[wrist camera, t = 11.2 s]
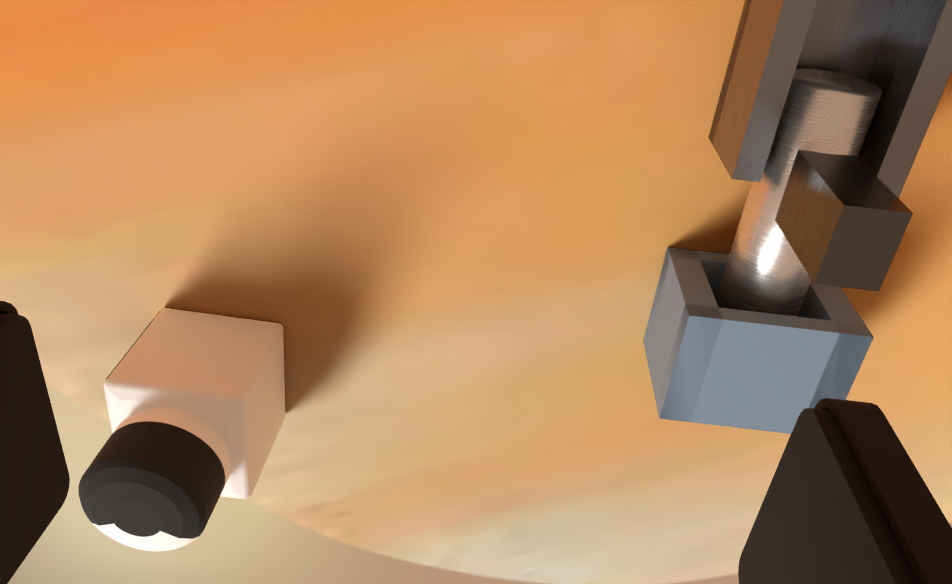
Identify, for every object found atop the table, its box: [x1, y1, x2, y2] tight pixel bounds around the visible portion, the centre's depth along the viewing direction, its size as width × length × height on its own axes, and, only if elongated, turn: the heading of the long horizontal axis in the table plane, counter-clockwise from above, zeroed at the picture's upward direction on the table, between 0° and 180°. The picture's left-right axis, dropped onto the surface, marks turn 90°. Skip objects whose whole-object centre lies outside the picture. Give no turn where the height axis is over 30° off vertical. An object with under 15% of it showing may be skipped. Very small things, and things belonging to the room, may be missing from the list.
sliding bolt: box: [716, 69, 913, 317], centre depth 33 cm, size 14×4×9 cm, turn 175°
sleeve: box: [709, 0, 952, 198], centre depth 31 cm, size 12×7×5 cm, turn 175°
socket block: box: [643, 247, 873, 434], centre depth 38 cm, size 6×8×6 cm
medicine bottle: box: [79, 308, 285, 551], centre depth 40 cm, size 7×7×12 cm
